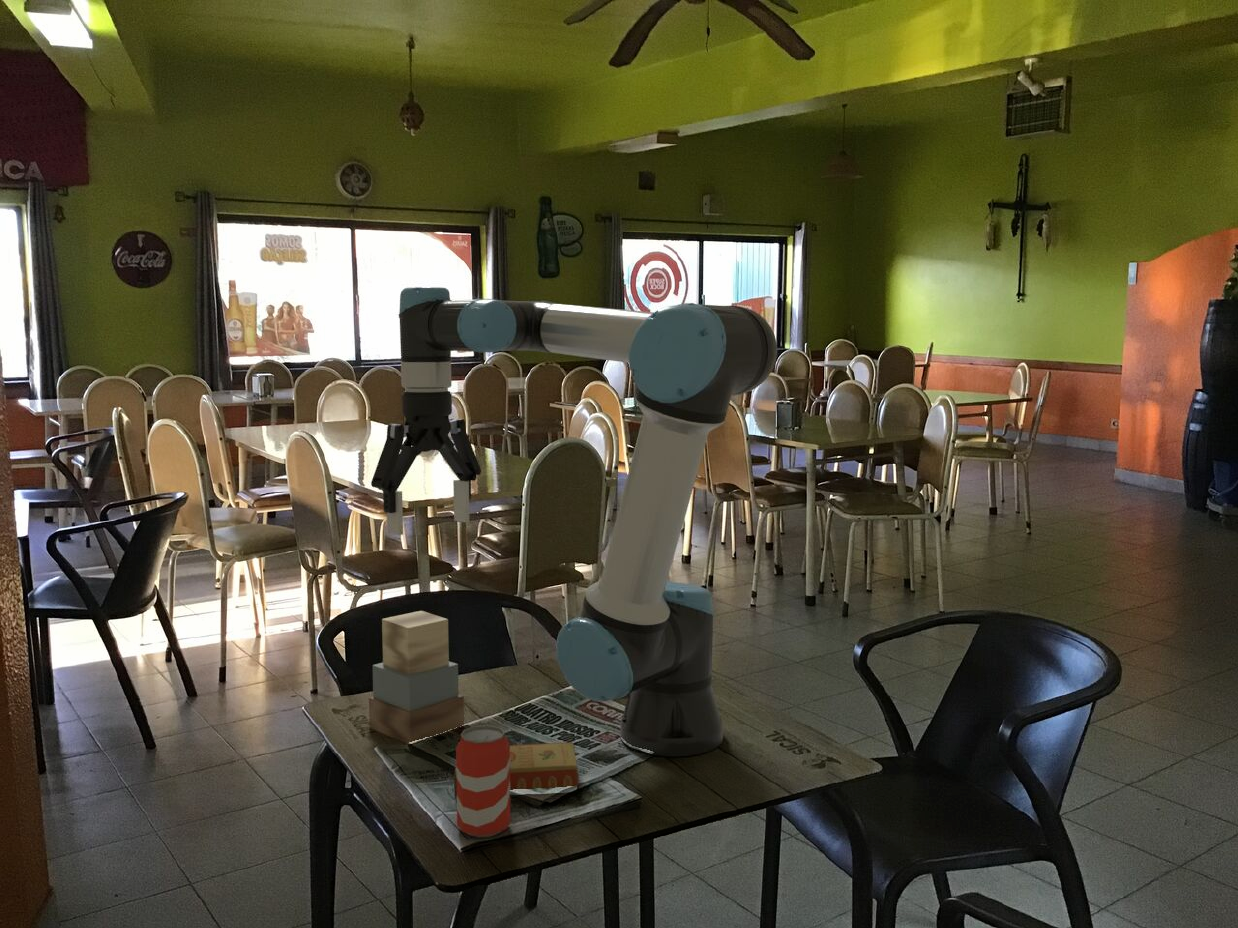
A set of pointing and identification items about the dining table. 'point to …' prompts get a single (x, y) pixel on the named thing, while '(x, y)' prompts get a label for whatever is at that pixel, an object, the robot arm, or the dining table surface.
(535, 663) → the dining table surface
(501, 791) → the beverage can
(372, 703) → the tower base
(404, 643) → the maple cube
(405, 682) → the tower top
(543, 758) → the carton
